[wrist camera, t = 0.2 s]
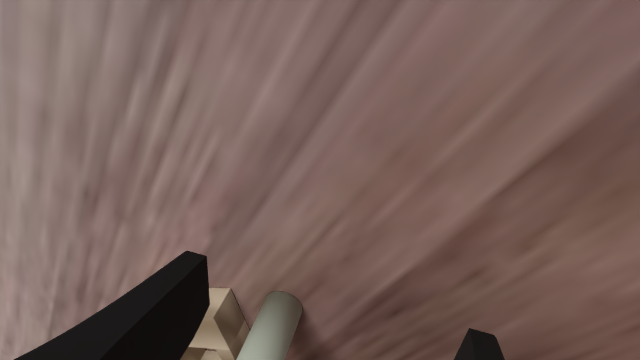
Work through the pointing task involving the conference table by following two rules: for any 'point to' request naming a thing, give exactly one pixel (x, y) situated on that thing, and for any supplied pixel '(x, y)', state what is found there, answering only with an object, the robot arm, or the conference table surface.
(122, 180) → the conference table surface
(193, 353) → the hole plate
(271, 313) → the long pin
